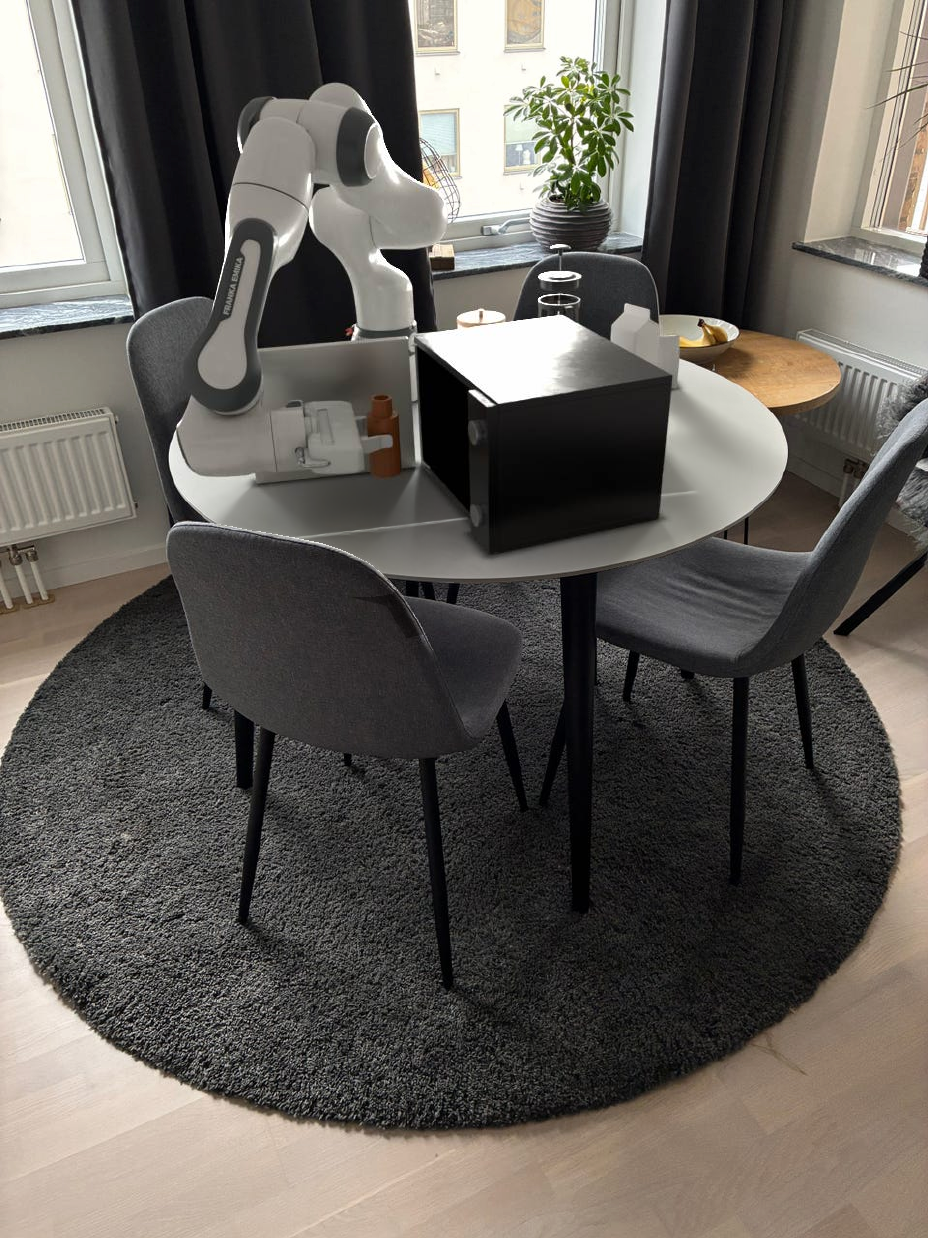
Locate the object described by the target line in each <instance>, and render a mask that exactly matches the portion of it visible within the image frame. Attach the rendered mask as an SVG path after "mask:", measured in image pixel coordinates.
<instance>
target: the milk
mask: <svg viewBox="0 0 928 1238" xmlns="http://www.w3.org/2000/svg"><path fill="white" fill-rule="evenodd" d="M623 306H624V308H623V312H622V313H621V314H620V316H618V317H617V319H616V320H615V321H613V323H612V324H611V325H610V326H611V327H610V341H611V342H613V343H615V344H616V345H618V346H620V347H622V348H624V349H626V350H627V351H629V352H631V353H633V354H635V355H637V356H639V357H640V358H642V359H644V360H646V361H648V362H650V363H651V364H653V365H655V366H657V363H658V352H659V340H660V336H661V328H662V326H661V325H660V324H659V323H657V322H656V321H654V320H652V319H651V310H650V309H649V308H645V307H642V306H638V305H634V304H630V303H626V302H625V303H624V305H623Z"/></svg>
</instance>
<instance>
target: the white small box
mask: <svg viewBox="0 0 928 1238" xmlns="http://www.w3.org/2000/svg"><path fill="white" fill-rule="evenodd" d="M680 337H681V336H680V334H676V335H675V334H673V335H660V340H659V352H658V363H657V367H659V368H661V369H662V370H664V371H666V372H668V373H670V374H672V375H673V378H672V388H671V389H677V388H678V377H679V367H680Z"/></svg>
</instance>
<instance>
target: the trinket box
mask: <svg viewBox="0 0 928 1238" xmlns="http://www.w3.org/2000/svg"><path fill="white" fill-rule="evenodd" d="M501 323H506V316H505V314H503V313H501V312H497V311H492V310H484V309H483V308H479V309H478V310H473V311H468V312H464V313H461V314H460V315H458V316H457V318H456V324H457V330H458V329H465V328H472V327H479V326H486V325H493V324H501Z"/></svg>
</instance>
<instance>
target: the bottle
mask: <svg viewBox="0 0 928 1238" xmlns="http://www.w3.org/2000/svg"><path fill="white" fill-rule="evenodd" d="M371 408H372V411H370V412H368V413H367V414H366V422H367V435H368V437H373V436H377V435H379V433H388V432H389V433H390V434H391V436H392V440H393V446H392V447H390V448H381V449H379V450H377V451H374V452H372V453H369V461H370V472H369V474H370V475H371V476H373V477H374V478H379V479H390V478H394V477H398V476H399V475H401V474H402V471H403V470H402V469H403V468H402V466H401V448H400V430H399V414H398V412H397V411H395V410H392V398H391V396H389V395H385V394H380V395H375V396H372V397H371Z"/></svg>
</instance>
